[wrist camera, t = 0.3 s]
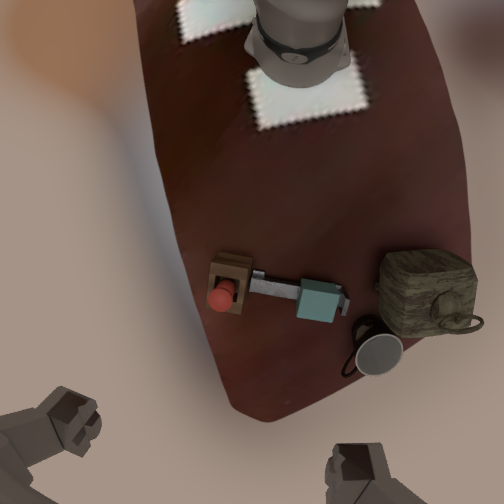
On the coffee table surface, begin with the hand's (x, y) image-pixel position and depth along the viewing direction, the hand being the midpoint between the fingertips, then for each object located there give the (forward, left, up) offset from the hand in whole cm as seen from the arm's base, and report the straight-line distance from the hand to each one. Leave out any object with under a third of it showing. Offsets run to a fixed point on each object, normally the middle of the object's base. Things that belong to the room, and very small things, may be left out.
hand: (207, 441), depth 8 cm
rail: (+11, +6, -46) cm, 48 cm away
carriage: (+11, +9, -45) cm, 47 cm away
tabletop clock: (+4, +25, -47) cm, 53 cm away
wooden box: (+11, -6, -46) cm, 48 cm away
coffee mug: (+18, +20, -47) cm, 54 cm away
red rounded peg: (+11, -5, -40) cm, 42 cm away
